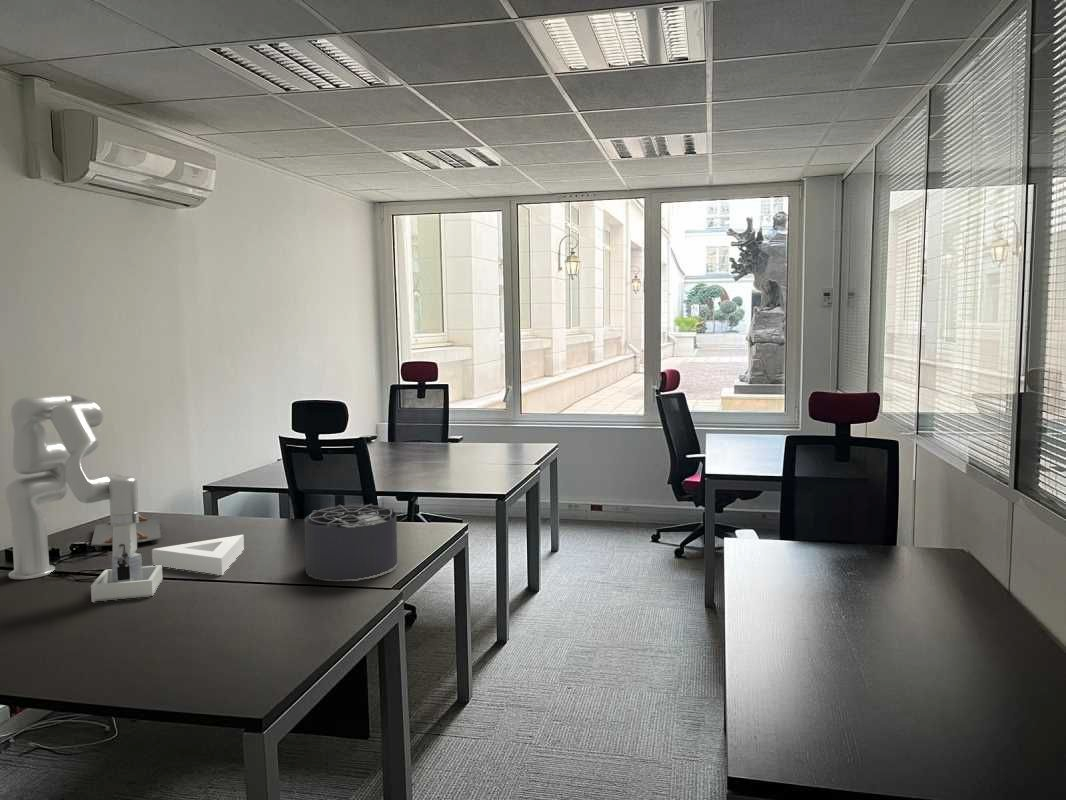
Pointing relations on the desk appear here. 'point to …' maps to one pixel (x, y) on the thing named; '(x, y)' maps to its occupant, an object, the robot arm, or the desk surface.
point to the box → (126, 585)
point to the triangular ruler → (201, 555)
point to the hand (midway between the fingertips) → (127, 574)
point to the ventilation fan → (350, 542)
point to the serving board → (144, 530)
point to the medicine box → (135, 568)
